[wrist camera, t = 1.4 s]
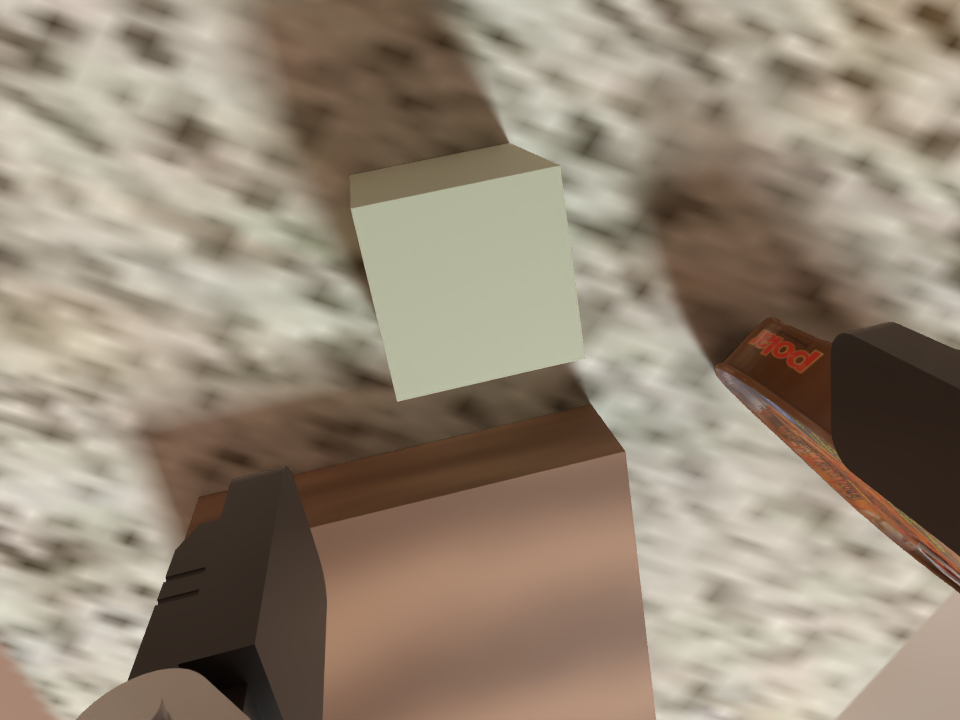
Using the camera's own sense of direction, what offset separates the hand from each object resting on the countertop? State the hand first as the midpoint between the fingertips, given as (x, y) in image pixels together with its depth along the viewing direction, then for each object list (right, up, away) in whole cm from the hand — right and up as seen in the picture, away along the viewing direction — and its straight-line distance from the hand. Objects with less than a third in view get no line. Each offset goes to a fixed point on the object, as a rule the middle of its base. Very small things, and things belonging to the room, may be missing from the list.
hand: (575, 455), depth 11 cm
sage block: (-2, +5, +13) cm, 14 cm away
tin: (+12, -1, +18) cm, 22 cm away
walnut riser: (-3, -8, +19) cm, 20 cm away
